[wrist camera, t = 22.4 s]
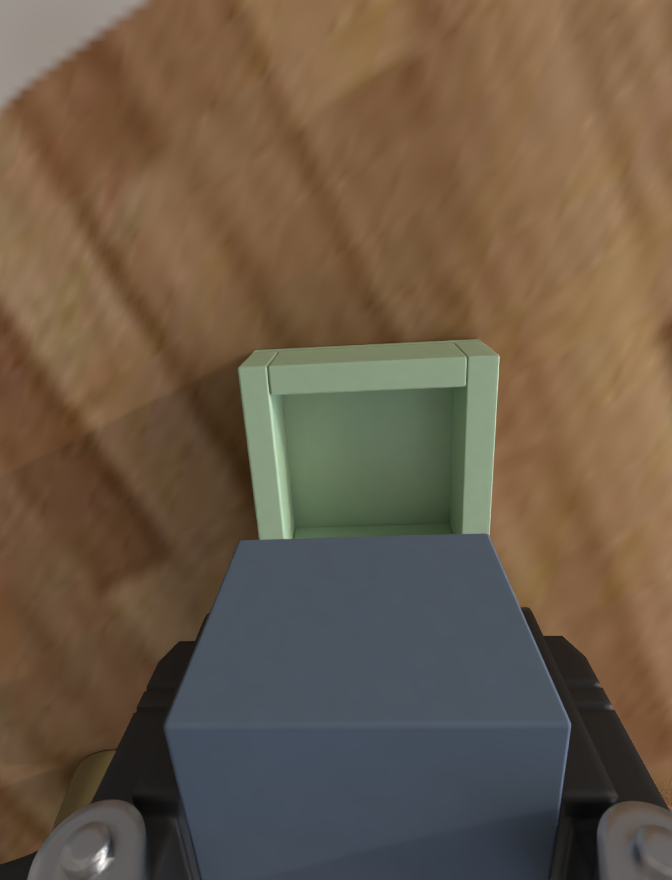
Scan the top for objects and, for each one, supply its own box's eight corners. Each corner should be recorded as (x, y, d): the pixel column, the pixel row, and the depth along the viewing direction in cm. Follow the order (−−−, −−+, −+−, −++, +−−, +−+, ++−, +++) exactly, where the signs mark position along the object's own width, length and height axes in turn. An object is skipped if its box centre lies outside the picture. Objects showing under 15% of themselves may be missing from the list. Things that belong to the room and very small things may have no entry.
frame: (290, 673, 25) (282, 727, 22) (254, 349, 19) (236, 367, 17) (465, 671, 25) (479, 726, 22) (479, 338, 19) (500, 355, 16)
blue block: (265, 721, 11) (217, 959, 7) (238, 539, 10) (160, 726, 6) (478, 719, 11) (540, 966, 7) (488, 531, 9) (573, 724, 6)
